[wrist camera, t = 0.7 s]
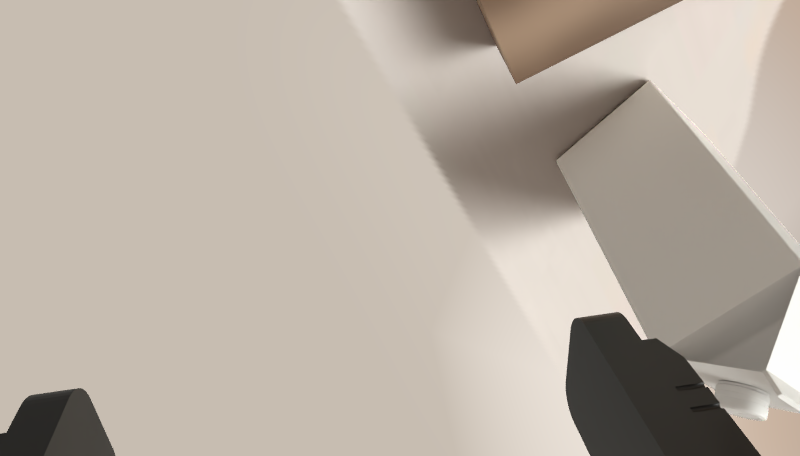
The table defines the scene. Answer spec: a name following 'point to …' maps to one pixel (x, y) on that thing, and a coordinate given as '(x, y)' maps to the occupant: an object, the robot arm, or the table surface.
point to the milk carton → (693, 251)
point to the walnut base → (558, 28)
